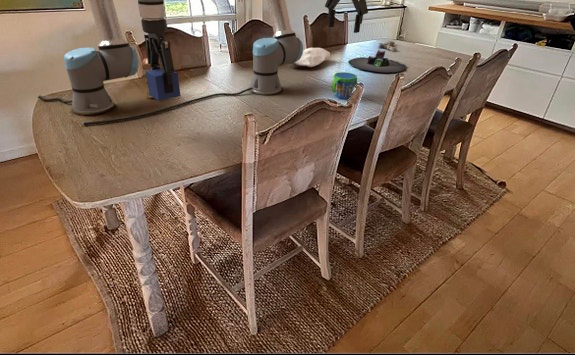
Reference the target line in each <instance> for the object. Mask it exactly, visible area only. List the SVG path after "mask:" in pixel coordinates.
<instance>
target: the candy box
mask: <svg viewBox="0 0 575 355" xmlns="http://www.w3.org/2000/svg"><path fill="white" fill-rule="evenodd" d="M141 66H142V73H143V78H144V82H145V87H146V92H147V97H148V99H151V98H153V97H152V96H150V95H149V89H148V83H147V77H146V72H145V71H149V70H152V67H151V66H150V64H148V60H147V58H146V57H145V58H143V60H142V63H141ZM153 99H154V98H153Z"/></svg>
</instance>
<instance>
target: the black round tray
mask: <svg viewBox="0 0 575 355" xmlns="http://www.w3.org/2000/svg"><path fill="white" fill-rule="evenodd" d="M385 55H386V51H385V50H380V49H378V50H377V52H376V53H375V55H374V56H371V55H369V56H368V57H365V56H364V57H362V56H360V57H355V58H351V59H349V60H348V61H347V63H348V64H349V65H350V66H352V67H354V68H356V69H358V70H364V71H369V72H376V73H385V74H386V73H399V72H402V71H404V70H406V68H407V65H406V64H404V63H402V62H401V63H400V62H399V61H395V60H392V59H389V58H388V57H385Z"/></svg>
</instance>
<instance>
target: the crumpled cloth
mask: <svg viewBox="0 0 575 355" xmlns="http://www.w3.org/2000/svg"><path fill="white" fill-rule="evenodd" d="M330 56H331V52H330V51H328V50H326V49H325V48H322V47H308V48H306V49H303V54H302V56H301V58H300V59H299V60H298V61H297V62H294V63H291V64H290V65H296V66H300V67H307V68H313V67H317V66H318V65H320V64H322V63H323V62H324V61H325V60H327V59H328V58H330Z"/></svg>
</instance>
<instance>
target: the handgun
mask: <svg viewBox="0 0 575 355" xmlns="http://www.w3.org/2000/svg"><path fill="white" fill-rule="evenodd" d="M395 43H396V42H395V41H393V40H389V41H386V42H384V43H383V42H379V43H378V48H380V49H381V48H384V49H386V50H390V51H392V52H396V51H397V49H398V48H397V47H395V45H396V44H395Z"/></svg>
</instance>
